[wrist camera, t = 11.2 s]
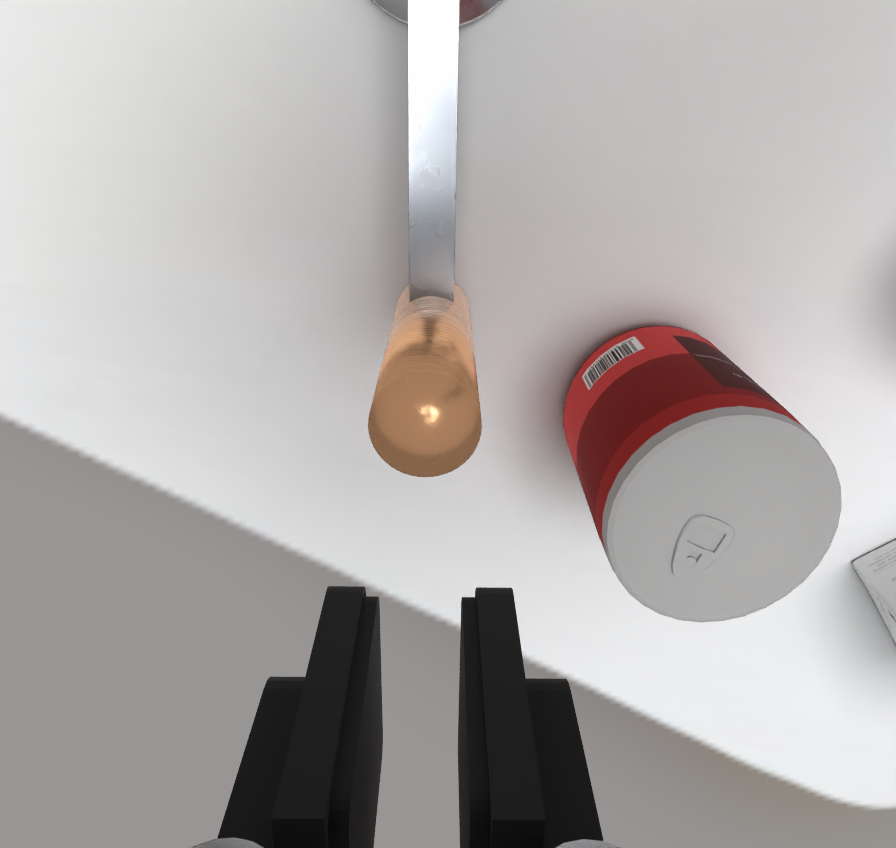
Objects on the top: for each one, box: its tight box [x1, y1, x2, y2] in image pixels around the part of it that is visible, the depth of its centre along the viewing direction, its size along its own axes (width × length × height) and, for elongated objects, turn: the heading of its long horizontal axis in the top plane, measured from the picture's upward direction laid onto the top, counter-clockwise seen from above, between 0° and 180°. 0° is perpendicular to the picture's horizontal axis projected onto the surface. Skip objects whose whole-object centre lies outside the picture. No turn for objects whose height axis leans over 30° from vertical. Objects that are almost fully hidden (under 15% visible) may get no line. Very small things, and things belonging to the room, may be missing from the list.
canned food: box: [564, 326, 841, 622], centre depth 30 cm, size 8×8×11 cm
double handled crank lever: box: [368, 0, 482, 477], centre depth 23 cm, size 17×3×13 cm, turn 179°
